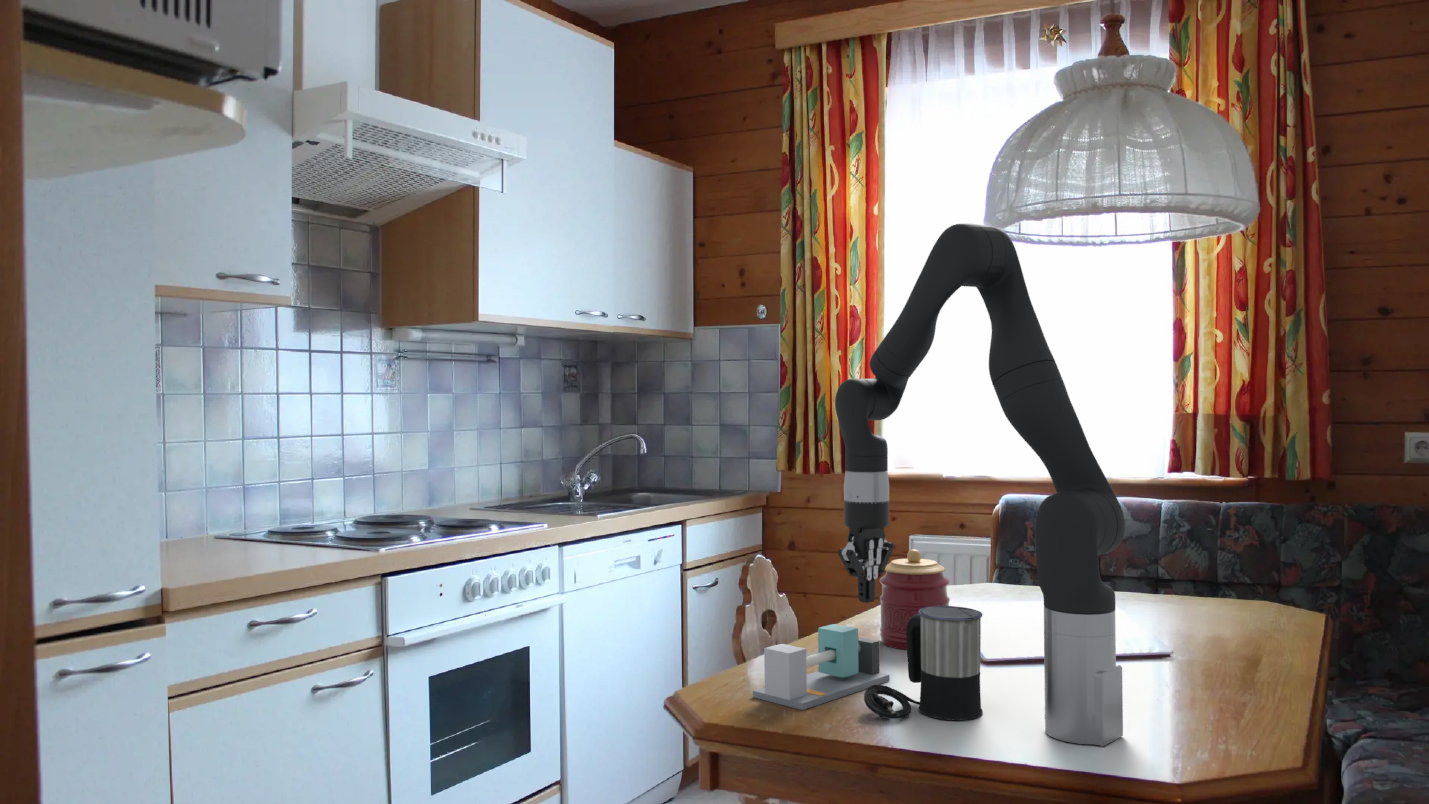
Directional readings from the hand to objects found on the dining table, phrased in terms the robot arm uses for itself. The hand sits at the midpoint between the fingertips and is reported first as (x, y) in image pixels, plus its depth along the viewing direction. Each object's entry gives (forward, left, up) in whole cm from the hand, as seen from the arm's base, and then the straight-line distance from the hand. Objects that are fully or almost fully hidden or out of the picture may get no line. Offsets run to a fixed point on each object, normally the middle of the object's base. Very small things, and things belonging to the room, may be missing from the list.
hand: (866, 601), depth 175 cm
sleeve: (0, +8, -10) cm, 13 cm away
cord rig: (0, +12, -12) cm, 17 cm away
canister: (+7, -24, -12) cm, 28 cm away
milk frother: (-19, +12, -12) cm, 26 cm away
